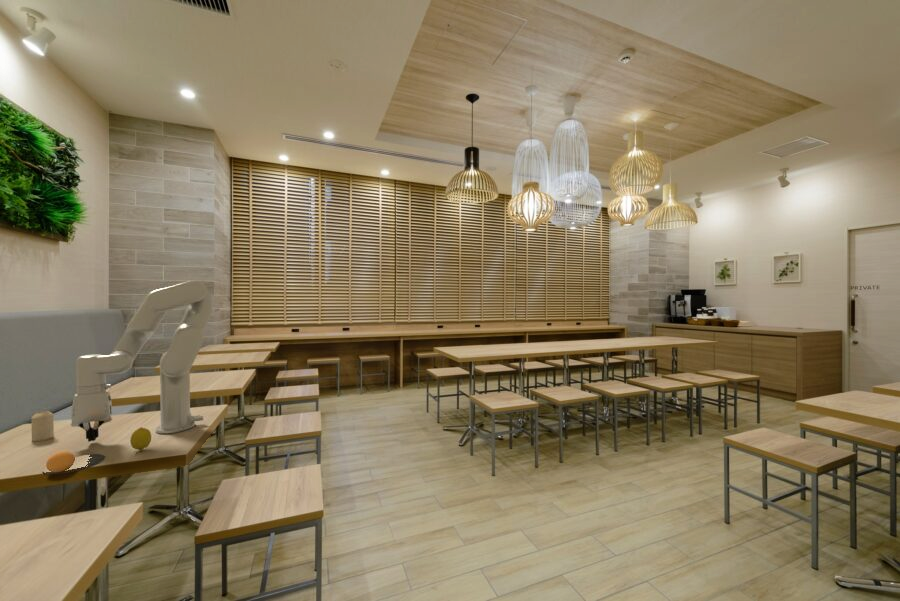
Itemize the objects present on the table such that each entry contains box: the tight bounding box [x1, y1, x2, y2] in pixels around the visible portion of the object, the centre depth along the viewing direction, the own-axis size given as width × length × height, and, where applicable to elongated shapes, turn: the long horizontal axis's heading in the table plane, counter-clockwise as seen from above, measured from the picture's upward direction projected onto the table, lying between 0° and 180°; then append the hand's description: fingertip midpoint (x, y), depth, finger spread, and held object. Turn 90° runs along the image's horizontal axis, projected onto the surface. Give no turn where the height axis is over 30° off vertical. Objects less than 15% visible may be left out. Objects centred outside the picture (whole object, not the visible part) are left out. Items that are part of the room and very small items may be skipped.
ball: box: [45, 450, 75, 473], centre depth 112 cm, size 6×6×6 cm
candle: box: [30, 410, 55, 442], centre depth 138 cm, size 6×6×10 cm
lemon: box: [129, 426, 152, 452], centre depth 128 cm, size 6×6×8 cm
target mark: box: [44, 453, 106, 476], centre depth 118 cm, size 14×14×1 cm
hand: (92, 439), depth 134 cm, fingers closed
